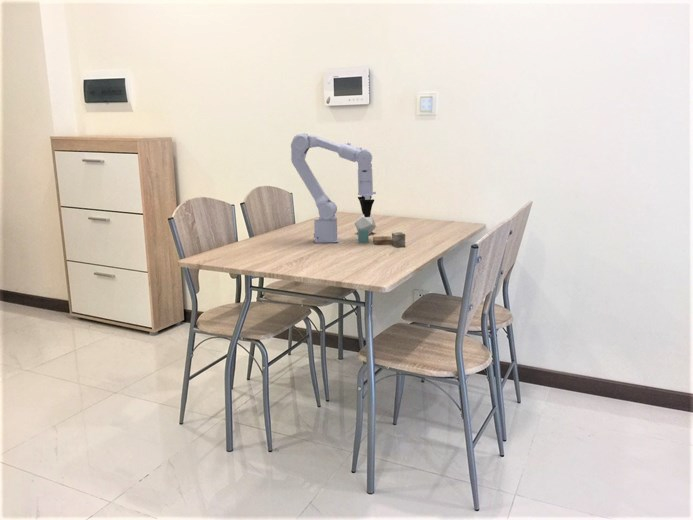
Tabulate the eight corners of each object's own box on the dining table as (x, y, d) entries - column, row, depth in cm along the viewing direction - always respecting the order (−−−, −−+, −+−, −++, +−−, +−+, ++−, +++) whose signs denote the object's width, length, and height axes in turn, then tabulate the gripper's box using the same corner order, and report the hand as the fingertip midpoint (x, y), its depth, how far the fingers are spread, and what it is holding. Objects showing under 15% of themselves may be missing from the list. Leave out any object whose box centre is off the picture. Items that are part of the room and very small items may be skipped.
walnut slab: (374, 246, 228) (374, 240, 227) (373, 242, 234) (373, 236, 234) (392, 245, 228) (392, 239, 227) (390, 242, 235) (390, 236, 234)
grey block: (395, 247, 223) (395, 234, 222) (391, 245, 227) (391, 232, 226) (405, 246, 224) (405, 234, 223) (401, 244, 228) (401, 232, 227)
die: (362, 237, 245) (376, 219, 243) (347, 226, 248) (361, 208, 247) (369, 241, 252) (382, 223, 251) (355, 229, 255) (368, 212, 254)
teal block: (358, 242, 232) (358, 230, 231) (358, 240, 236) (357, 228, 235) (368, 242, 232) (368, 230, 231) (367, 240, 236) (367, 228, 235)
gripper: (377, 182, 222) (378, 217, 225) (373, 179, 236) (374, 212, 239) (359, 183, 222) (360, 218, 225) (355, 179, 236) (357, 213, 239)
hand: (366, 215), depth 232 cm, fingers open, 7 cm apart
